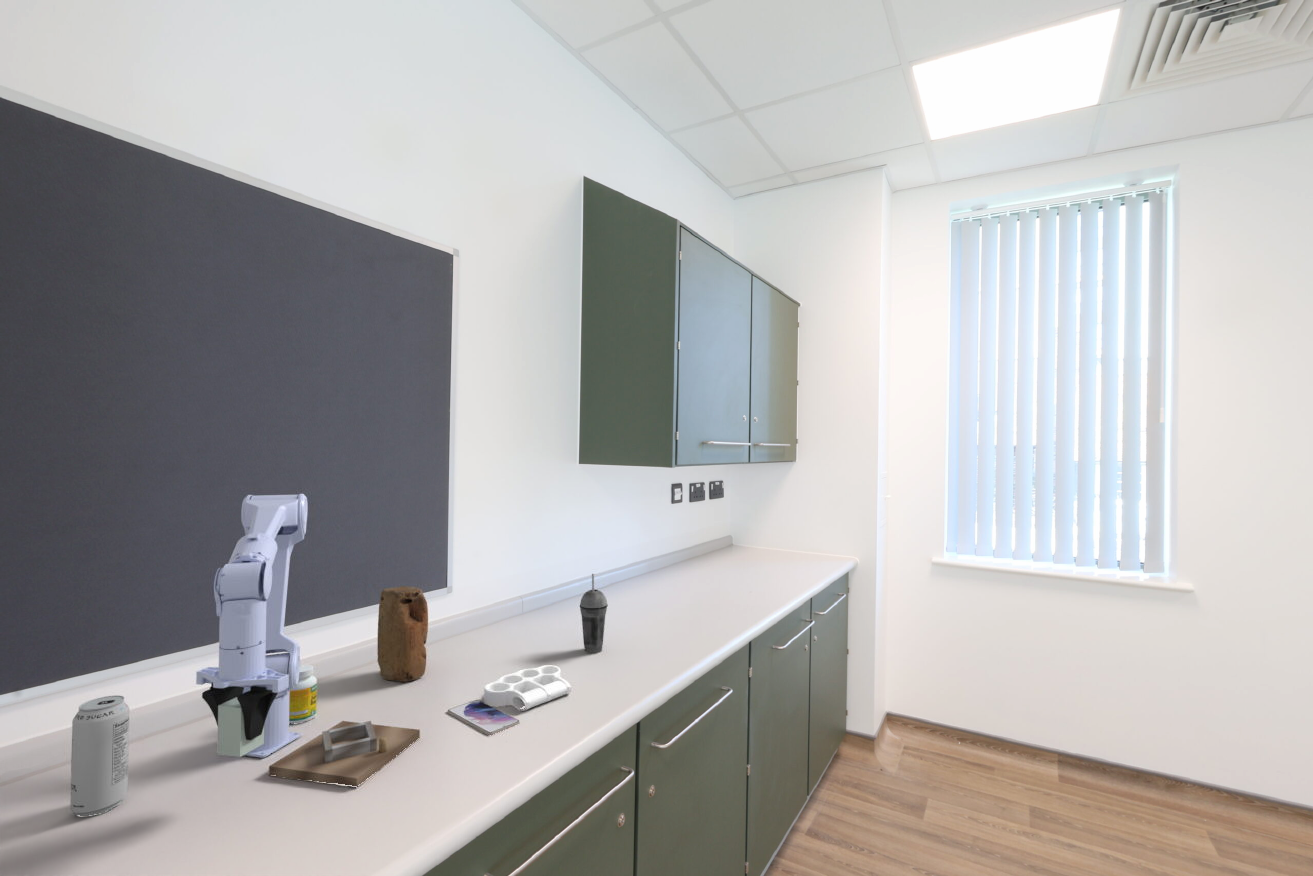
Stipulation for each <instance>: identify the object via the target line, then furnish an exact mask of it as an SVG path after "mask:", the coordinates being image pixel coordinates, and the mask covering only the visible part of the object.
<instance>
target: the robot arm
mask: <svg viewBox="0 0 1313 876" xmlns="http://www.w3.org/2000/svg"><path fill="white" fill-rule="evenodd" d="M242 500H243V501H242V503H241V509H240V510H241V511H240V512H241V513H240V515H241V516H240V518H241V524H242V527H243V529H244V534H245V535H244V536H241V538H240V539H238V540H237V542H236V545H235V547H234V549H233V552H232V554H231V556H230V558H229V560H228V563H226V564H224V566H223V567H218V568H217V570H216V573H215V576H214V582H213V593H214V601H215V605H216V611H215V613H216V617H219V627H218V628H219V632H218V635H219V638H218V642H219V643H218V667H217V666H208V667H204V668H202V669H199V670H197V671H196V679H195V681H196V683H195V684H196V685H206V684H210V685H211V686H210V687H209V689H207V690H205V691H203V692H202V694H201V698H202V699H203V701H205V703H206V704H207V706H208V707H209V709H210V710H211V712H212V715H213V716H214V717H213V718H214V720H215V723H216V725H217V727H218V705H221V704H223V703H225V702H227V701H229V700H232V699H234V698H236V697H237V700H238V701H239V703H240V705H241V708H242V712H243V716H244V729H245V736H246V740H252V739H254V738H256V737H258V736H259V735H261V734H262V731H263V727H264V744H262V745H260V746H259V747H257V748H255V749H253V750H252V751H250V752H248V753H246V754H245V755H244V756H246V755H247V757H255V758H261V759H262V758H267V757H268V756H270V755H271V753H272V754H273V753H275V752H277V751H278V750H280V749H281V748H283V747H285V746H286V745H288V744H290V743H292V742H293V741H295V740H296V739H298V738H300V737H301V736H302V734H301V733H300V732H295V731H294V732H293V731H290V724H289V698H290V689H292V688H294V687H295V686H296V685H297V684H298V680H299V673H300V666H301V657H300V651H301V649H300V644H299V643H298V642H297V641H296V640H294V639H292V638H291V637H289V636H288V635H286V634H285V620H286V606H287V598H288V597H287V596H288V585H289V572H290V562H291V554H292V552H293V549H294V546H295V545H296V544H298V543H300V542H301V541H303V540H304V539H305V535H306V533H307V524H308V523H307V522H308V505H309V504H308V497H307V496H306V494H304V493H299V494H273V495H272V494H266V495H265V494H264V495H262V494H261V495H253V494H247V496H245V497H244V498H243V499H242Z"/></svg>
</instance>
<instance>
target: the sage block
mask: <svg viewBox="0 0 1313 876" xmlns="http://www.w3.org/2000/svg"><path fill="white" fill-rule="evenodd" d="M262 744H264V727H263V731H262V734H261V735H259V736H258V737H256V738H254V739H252V740H246V736H245V729H244V716H243V712H242V708H241V705H240V703H239V701H238V700H237V697H236V698H234V699H232V700H229V701H227V702H225V703H223V704H221V705H218V726H217V749H216V750H217V751H216V752H217V753H216V754H217V755H222V756H230V757H237V758H241V757H242V756H243V757H244V756H246V755H245V754H246V753H248V752H250V751H252V750H253V749H255V748H257V747H259V746H260V745H262Z"/></svg>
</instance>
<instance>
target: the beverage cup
mask: <svg viewBox="0 0 1313 876" xmlns="http://www.w3.org/2000/svg"><path fill="white" fill-rule="evenodd" d="M607 601H608V600H607V597H606V595H605V594H604V593H603V592H602V591H601V590H599V589H595V573H591V589H590V590H587V591H586V592H584V593H583V595H582V596H581V599H580V602H579V603H580V604H579V608H580V609H579V610H580V615H581V625H582V639H583V648H584V652H585V653H587V654H598V653H599V654H600V653H601V652H603V644H604V636H605V624H606V623H605V622H606V615H607V609H608V602H607Z"/></svg>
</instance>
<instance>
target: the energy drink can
mask: <svg viewBox="0 0 1313 876" xmlns="http://www.w3.org/2000/svg"><path fill="white" fill-rule="evenodd" d="M129 732H130V707H129V705H128V704H127V703H126V702H125V697H124V696H123V695H108V696H102V697H97V698H94V699H90V700H88V701H85V702H84V703H81V704H80V705H79V706H78V711H77V713H76V714H75V716H74V717H73V718H72V724H71V762H70V765H71V766H70V767H71V769H70V801H69V803H70V811H71V812H72V813H75V815H76V814H77V815H80V816H89V815H94V814H99V813H102V814H104V813H103V812H105V811H107V810H110V809H112V808H113V807H115V806H117V805H118V804H119V803H120V802H121V801H122V802H123V799H124V798H126V797H127V794H128V793H129V791H128V790H129V788H128V787H129V785H128V784H129V779H128V778H129V748H130V747H129V746H130V745H129V744H130V743H129V742H130V740H129V739H130V734H129ZM122 802H121V803H122ZM121 803H120V804H121ZM118 806H119V805H118ZM118 806H117V807H118ZM115 808H116V807H115ZM112 810H113V809H112ZM110 811H111V810H110ZM107 812H108V811H107ZM105 813H106V812H105ZM99 815H100V814H99Z"/></svg>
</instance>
